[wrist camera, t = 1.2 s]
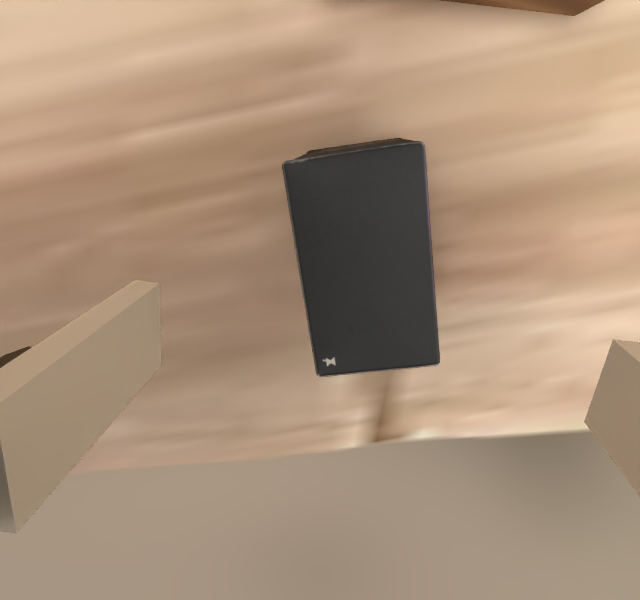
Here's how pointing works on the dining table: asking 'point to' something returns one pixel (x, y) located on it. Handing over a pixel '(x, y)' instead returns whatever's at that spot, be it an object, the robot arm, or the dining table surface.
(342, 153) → the small box
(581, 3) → the walnut block
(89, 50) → the dining table surface
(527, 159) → the dining table surface
